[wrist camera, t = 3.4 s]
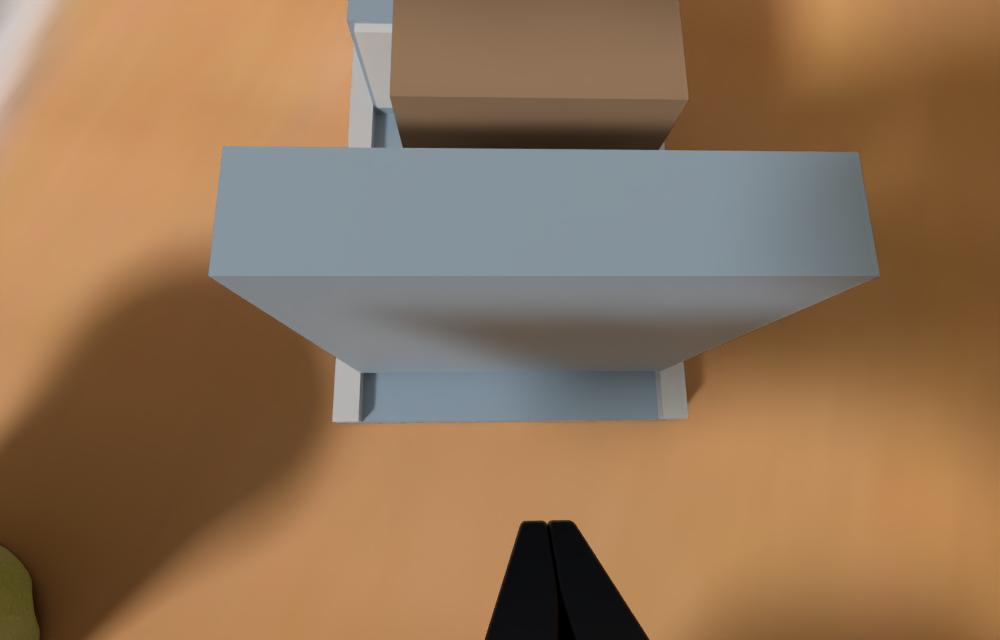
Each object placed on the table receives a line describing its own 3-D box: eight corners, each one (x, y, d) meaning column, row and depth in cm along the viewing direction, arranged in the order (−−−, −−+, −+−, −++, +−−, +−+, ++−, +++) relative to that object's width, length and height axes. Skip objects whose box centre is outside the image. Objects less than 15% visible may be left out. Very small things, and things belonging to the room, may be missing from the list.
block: (581, 278, 19) (688, 100, 9) (436, 278, 19) (389, 96, 9) (577, 172, 20) (669, -92, 10) (437, 171, 20) (397, -99, 10)
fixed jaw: (636, 123, 20) (679, 34, 16) (375, 120, 20) (346, 29, 16) (632, 69, 21) (672, -31, 17) (377, 65, 21) (350, -38, 16)
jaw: (661, 370, 18) (879, 276, 8) (360, 373, 17) (208, 275, 8) (655, 301, 18) (855, 134, 9) (363, 302, 18) (225, 128, 8)
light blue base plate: (674, 420, 19) (688, 418, 18) (342, 423, 18) (332, 421, 17) (645, 63, 22) (655, 39, 21) (361, 59, 22) (354, 34, 20)
